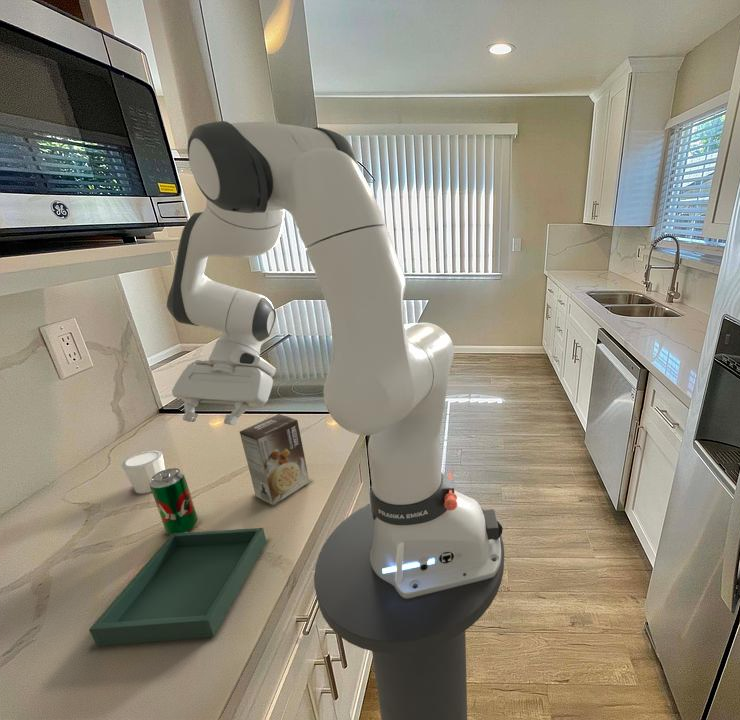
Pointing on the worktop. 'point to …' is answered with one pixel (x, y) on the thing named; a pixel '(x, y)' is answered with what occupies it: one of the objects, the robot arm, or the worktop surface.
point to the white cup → (143, 469)
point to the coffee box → (275, 458)
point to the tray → (182, 588)
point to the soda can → (173, 501)
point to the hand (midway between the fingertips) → (208, 422)
